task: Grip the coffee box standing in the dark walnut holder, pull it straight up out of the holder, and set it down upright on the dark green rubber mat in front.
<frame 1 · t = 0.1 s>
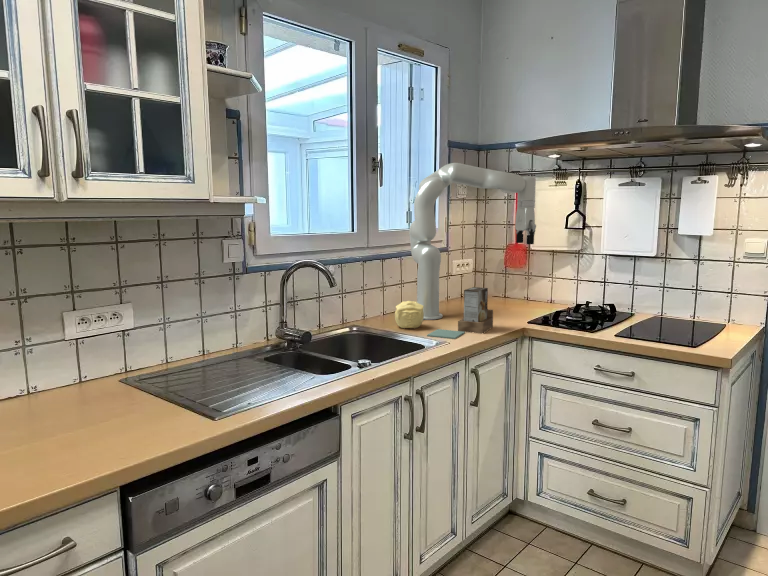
hand: (524, 243, 250), 31 cm above the worktop, tool pointing down, fingers open, 9 cm apart
coffee box: (475, 329, 220), resting in packet holder
sculpture: (409, 327, 225), on the worktop
mat: (446, 334, 211), on the worktop
packet holder: (475, 329, 220), on the worktop
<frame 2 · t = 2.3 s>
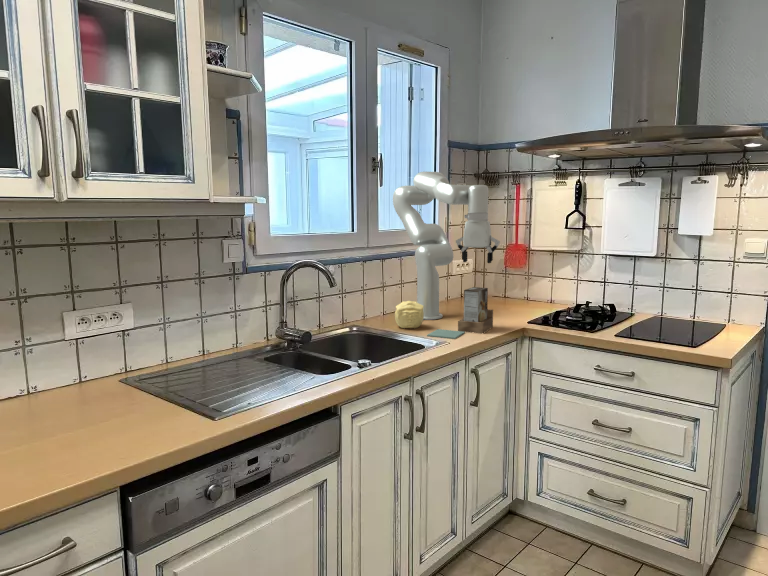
hand: (477, 262, 217), 26 cm above the worktop, tool pointing down, fingers open, 9 cm apart
nothing on the worktop moved.
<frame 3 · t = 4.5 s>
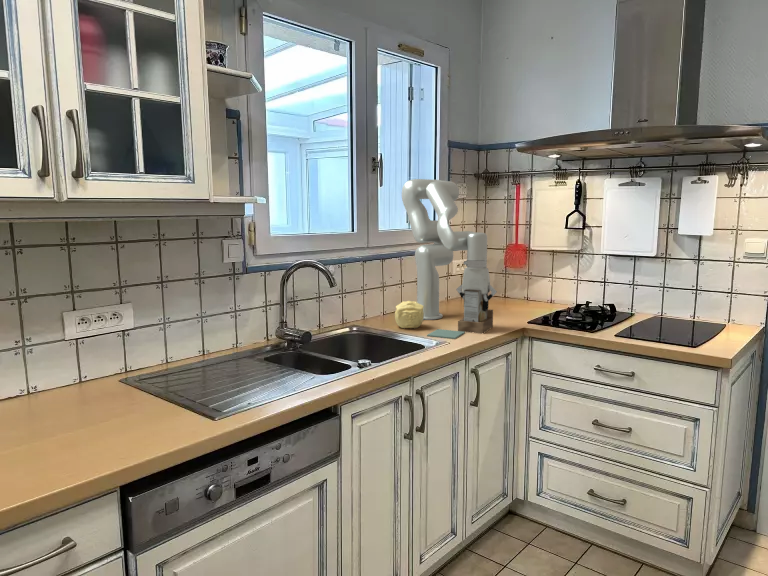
hand: (475, 309, 219), 8 cm above the worktop, tool pointing down, fingers closed on coffee box, 6 cm apart
coffee box: (475, 329, 220), resting in packet holder, touching gripper
everything else where it was.
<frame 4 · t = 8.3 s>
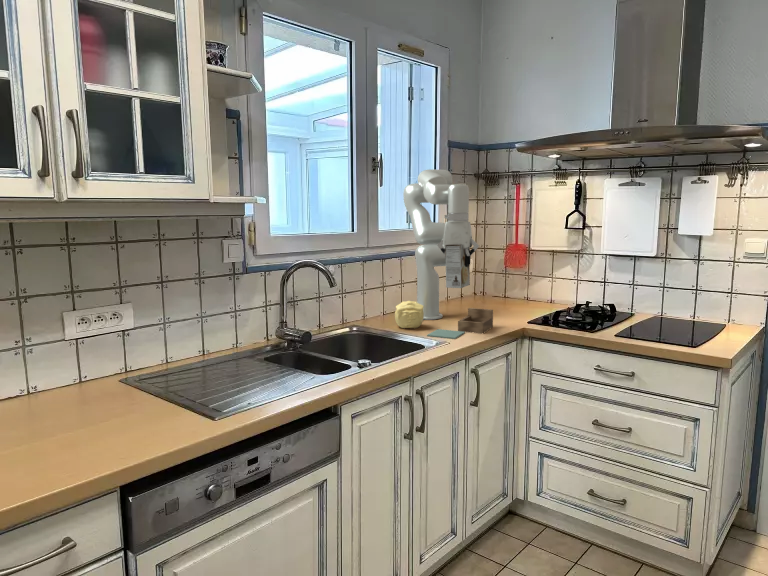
hand: (457, 265, 210), 26 cm above the worktop, tool pointing down, fingers closed on coffee box, 6 cm apart
coffee box: (458, 287, 211), point 18 cm above the worktop, touching gripper
everything else where it was.
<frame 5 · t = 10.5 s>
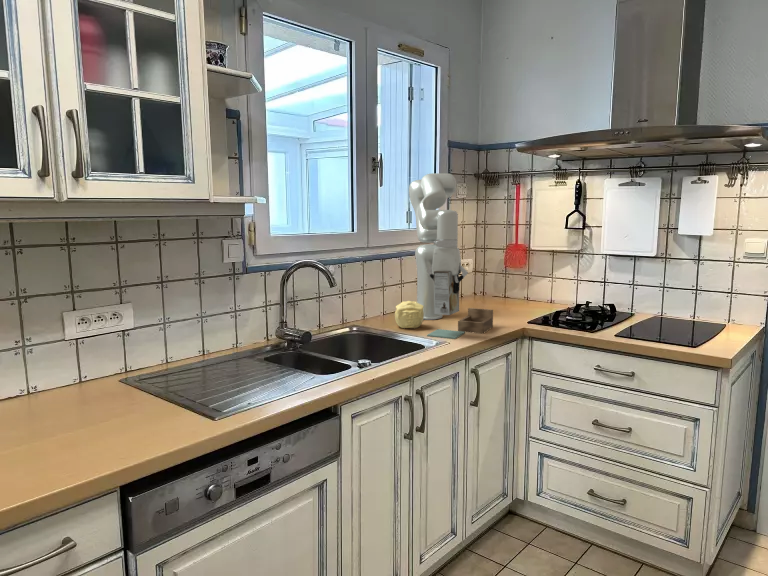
hand: (446, 292, 209), 16 cm above the worktop, tool pointing down, fingers closed on coffee box, 6 cm apart
coffee box: (447, 313, 210), point 8 cm above the worktop, touching gripper
everything else where it was.
when the fingers open (9 cm above the worktop, at t = 12.4 s): coffee box stays where it is, resting on mat.
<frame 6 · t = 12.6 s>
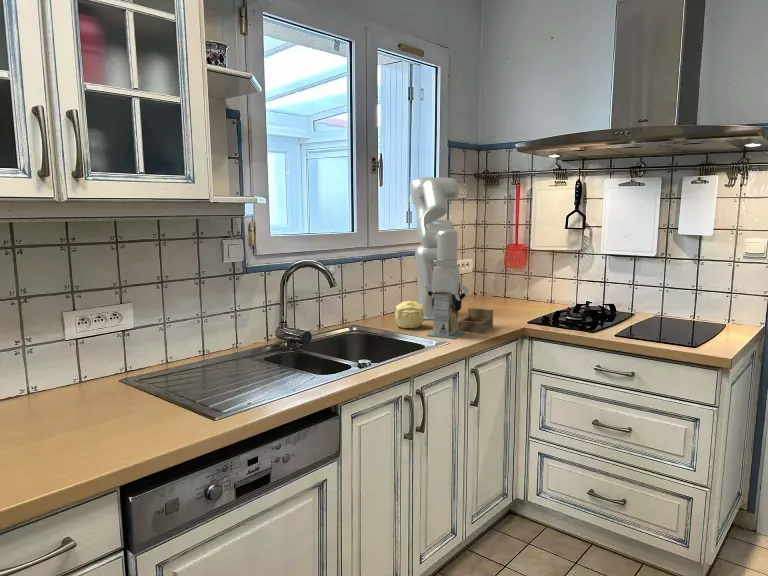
hand: (446, 309, 210), 10 cm above the worktop, tool pointing down, fingers open, 8 cm apart
coffee box: (445, 333, 211), resting on mat
everything else where it was.
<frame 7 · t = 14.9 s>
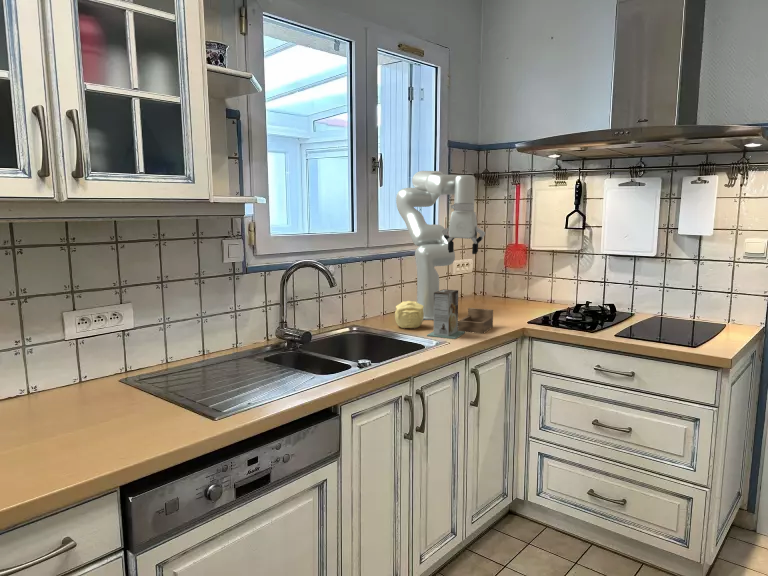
hand: (462, 253, 216), 30 cm above the worktop, tool pointing down, fingers open, 9 cm apart
nothing on the worktop moved.
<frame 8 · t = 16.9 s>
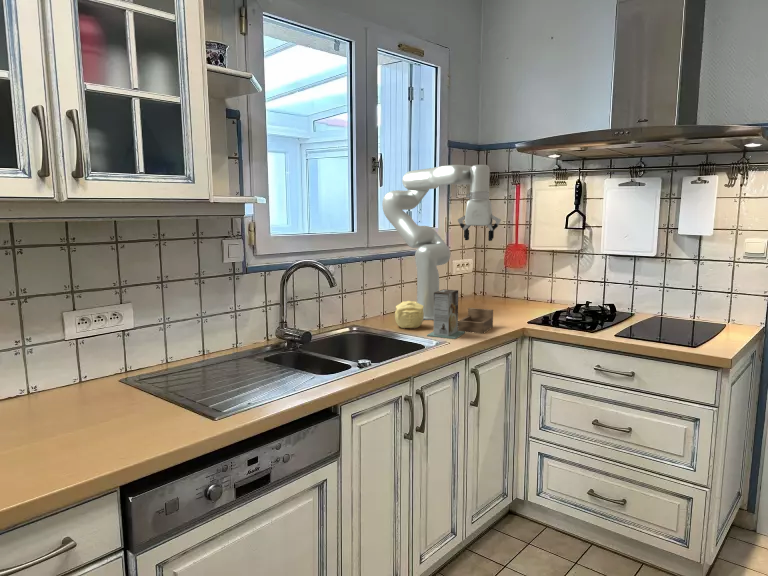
hand: (478, 240, 223), 34 cm above the worktop, tool pointing down, fingers open, 9 cm apart
nothing on the worktop moved.
at the end: coffee box inside the target area on the mat (0.2 cm from its centre), point 0.3 cm above the mat's base; coffee box tilted 0°; the gripper is holding nothing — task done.
